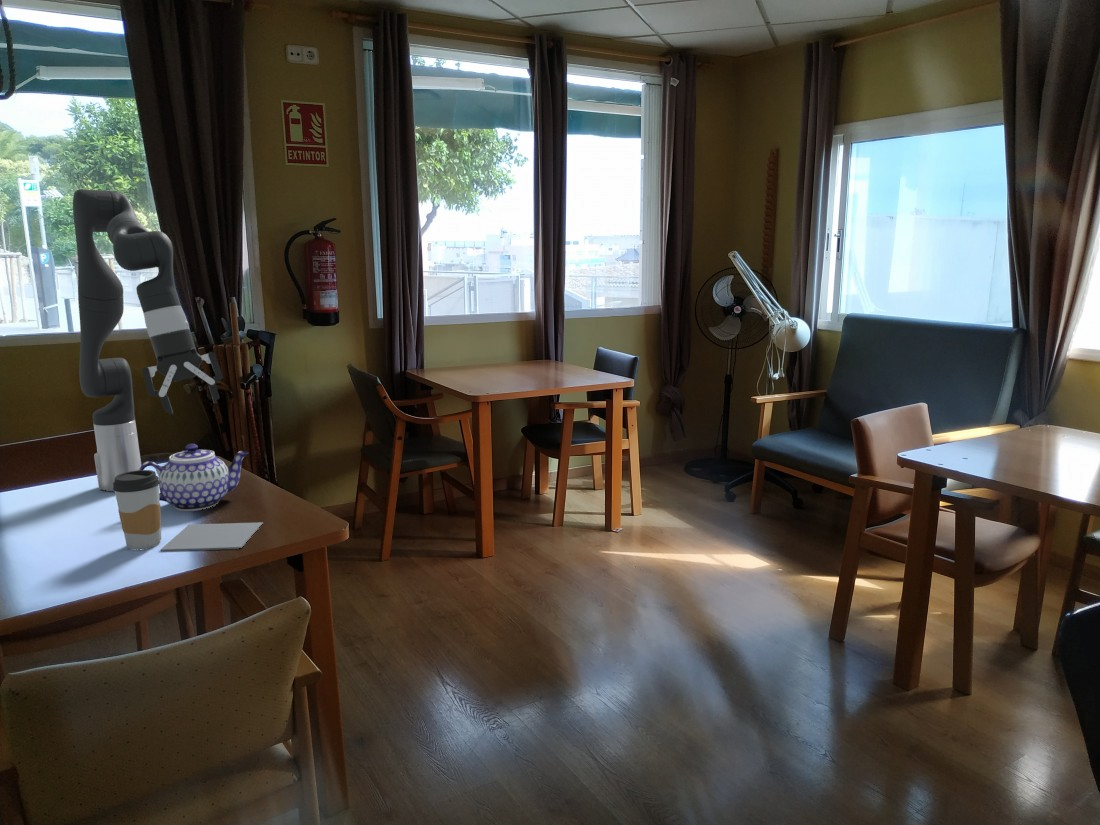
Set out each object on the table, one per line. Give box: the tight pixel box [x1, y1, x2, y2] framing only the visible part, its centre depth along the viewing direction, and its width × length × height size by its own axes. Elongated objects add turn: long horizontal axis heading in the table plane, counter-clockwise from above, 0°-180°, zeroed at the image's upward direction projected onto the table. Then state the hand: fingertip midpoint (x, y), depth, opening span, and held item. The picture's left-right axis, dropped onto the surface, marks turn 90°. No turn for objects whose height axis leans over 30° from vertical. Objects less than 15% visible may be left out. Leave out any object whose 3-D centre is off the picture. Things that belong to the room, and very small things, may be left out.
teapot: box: [138, 443, 249, 512], centre depth 177 cm, size 25×15×15 cm, turn 121°
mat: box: [160, 521, 264, 552], centre depth 158 cm, size 16×14×1 cm
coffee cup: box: [113, 469, 162, 551], centre depth 152 cm, size 8×8×15 cm
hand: (193, 408), depth 153 cm, fingers open, 8 cm apart
